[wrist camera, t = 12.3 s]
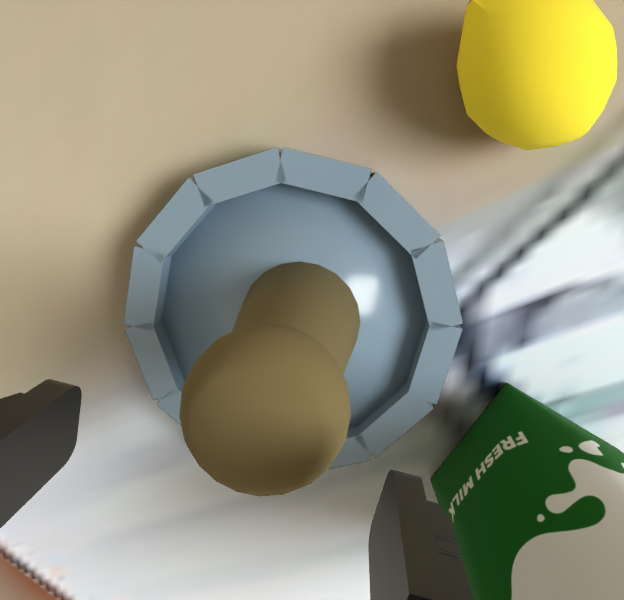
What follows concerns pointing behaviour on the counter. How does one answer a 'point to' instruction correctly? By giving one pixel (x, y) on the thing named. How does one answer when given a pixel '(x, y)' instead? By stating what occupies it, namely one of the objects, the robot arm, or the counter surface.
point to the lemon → (536, 69)
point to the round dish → (293, 248)
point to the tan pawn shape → (275, 384)
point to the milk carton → (535, 505)
